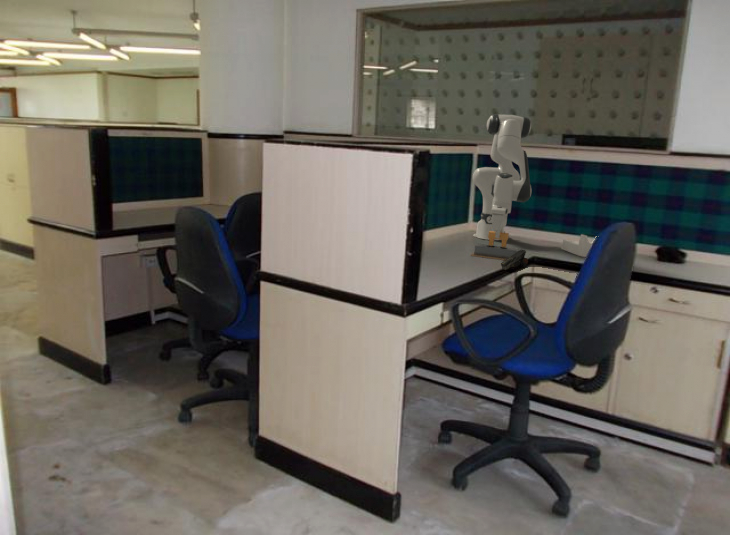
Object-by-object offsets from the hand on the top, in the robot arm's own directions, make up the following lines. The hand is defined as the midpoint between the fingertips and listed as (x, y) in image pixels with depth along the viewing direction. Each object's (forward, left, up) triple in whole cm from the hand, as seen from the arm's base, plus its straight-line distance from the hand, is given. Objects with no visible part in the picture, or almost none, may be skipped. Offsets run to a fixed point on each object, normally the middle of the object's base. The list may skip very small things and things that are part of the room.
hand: (498, 237), depth 291 cm
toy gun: (+21, +11, -10) cm, 26 cm away
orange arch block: (0, 0, -4) cm, 4 cm away
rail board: (0, 0, -9) cm, 9 cm away
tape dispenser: (-37, +36, -10) cm, 52 cm away
